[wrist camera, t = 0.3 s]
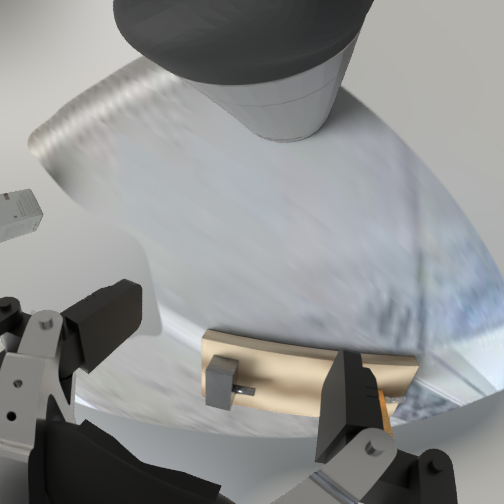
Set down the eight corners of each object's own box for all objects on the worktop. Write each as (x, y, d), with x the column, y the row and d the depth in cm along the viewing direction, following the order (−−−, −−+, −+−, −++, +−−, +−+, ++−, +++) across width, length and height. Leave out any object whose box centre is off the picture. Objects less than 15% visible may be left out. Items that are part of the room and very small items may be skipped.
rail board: (207, 329, 32) (201, 338, 30) (414, 356, 28) (418, 366, 26) (206, 386, 35) (202, 396, 33) (386, 409, 31) (388, 419, 29)
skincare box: (44, 213, 33) (-17, 231, 21) (36, 232, 34) (-21, 252, 23) (30, 186, 32) (-29, 198, 21) (22, 206, 33) (-32, 220, 22)
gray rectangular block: (213, 354, 30) (205, 370, 27) (260, 364, 29) (255, 381, 26) (213, 389, 32) (205, 404, 29) (255, 398, 31) (250, 415, 28)
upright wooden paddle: (336, 382, 28) (339, 493, 14) (411, 385, 26) (440, 480, 12) (326, 405, 29) (324, 508, 15) (398, 407, 28) (418, 499, 14)
